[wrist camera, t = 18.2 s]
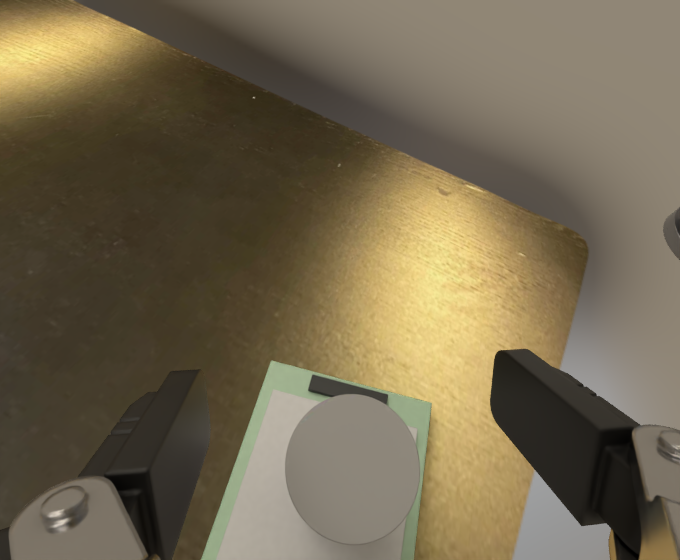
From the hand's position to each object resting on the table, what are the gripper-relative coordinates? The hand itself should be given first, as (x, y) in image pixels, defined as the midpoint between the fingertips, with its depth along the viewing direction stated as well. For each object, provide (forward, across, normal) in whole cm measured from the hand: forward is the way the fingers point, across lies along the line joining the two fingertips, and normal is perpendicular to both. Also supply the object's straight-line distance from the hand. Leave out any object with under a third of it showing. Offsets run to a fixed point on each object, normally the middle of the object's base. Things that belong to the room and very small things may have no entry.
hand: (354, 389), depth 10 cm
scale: (+14, 0, +16) cm, 21 cm away
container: (+12, 0, +14) cm, 18 cm away
